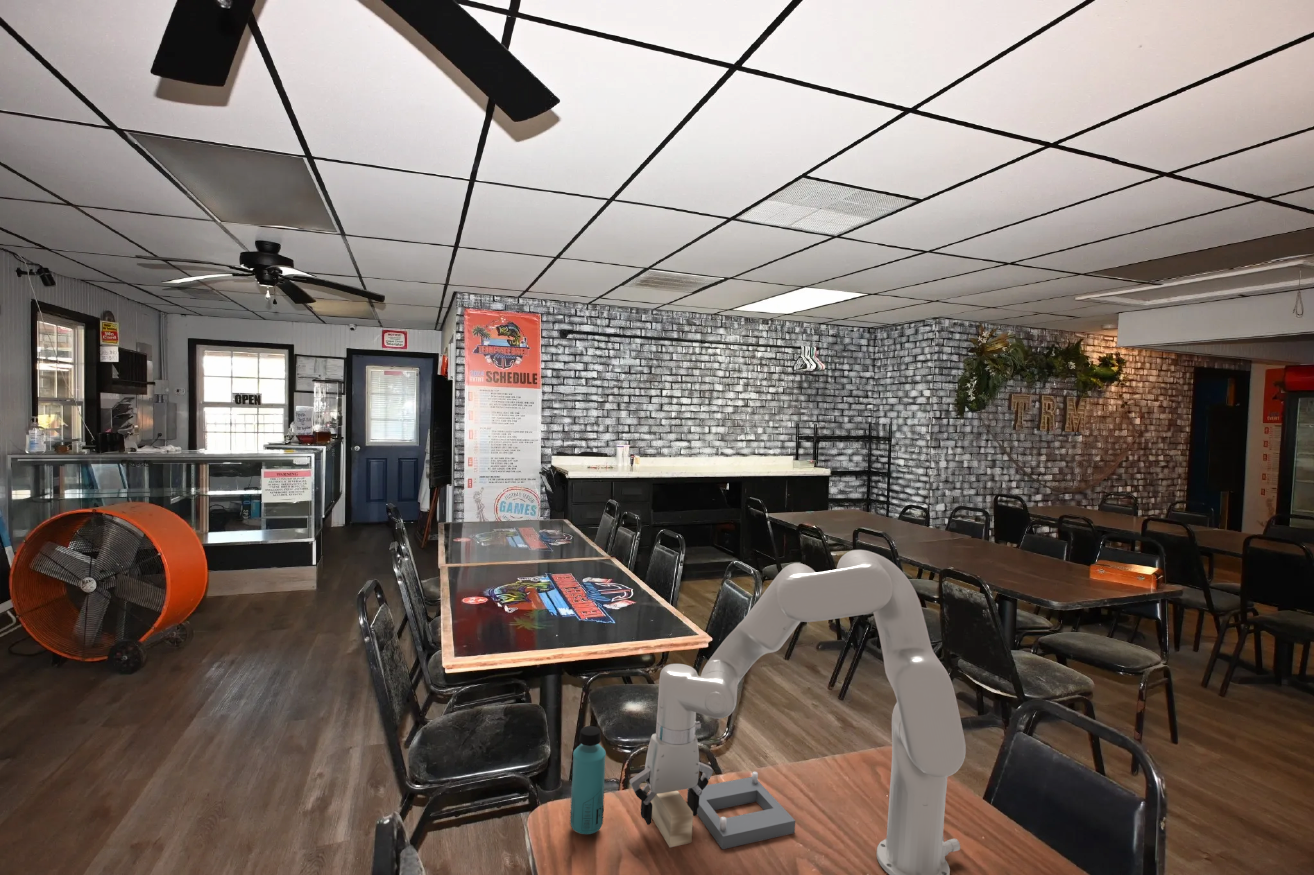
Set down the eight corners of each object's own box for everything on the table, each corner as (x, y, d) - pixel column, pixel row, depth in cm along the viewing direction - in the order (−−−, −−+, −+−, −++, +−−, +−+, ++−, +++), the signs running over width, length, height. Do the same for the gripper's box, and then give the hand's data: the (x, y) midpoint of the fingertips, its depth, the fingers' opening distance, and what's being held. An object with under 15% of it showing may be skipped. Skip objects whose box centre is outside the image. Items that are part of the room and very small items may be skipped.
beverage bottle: (597, 845, 120) (602, 740, 119) (563, 839, 121) (568, 735, 121) (607, 824, 126) (612, 724, 126) (574, 818, 128) (579, 719, 127)
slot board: (753, 787, 142) (754, 767, 141) (794, 833, 127) (795, 810, 127) (687, 800, 136) (688, 779, 136) (722, 849, 121) (723, 826, 121)
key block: (670, 812, 132) (672, 783, 131) (691, 843, 122) (693, 812, 122) (650, 816, 130) (651, 787, 130) (669, 848, 121) (671, 817, 120)
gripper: (706, 716, 132) (701, 797, 133) (627, 726, 126) (621, 812, 126) (723, 734, 125) (717, 820, 126) (640, 746, 119) (634, 836, 119)
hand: (669, 816), depth 126 cm, fingers open, 9 cm apart
